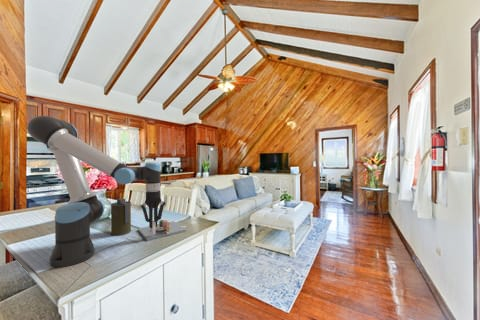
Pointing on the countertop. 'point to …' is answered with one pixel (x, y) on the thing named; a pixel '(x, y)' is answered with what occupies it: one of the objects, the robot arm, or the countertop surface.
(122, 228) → the canister
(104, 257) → the countertop surface
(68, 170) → the robot arm
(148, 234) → the panel
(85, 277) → the countertop surface
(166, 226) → the dial
